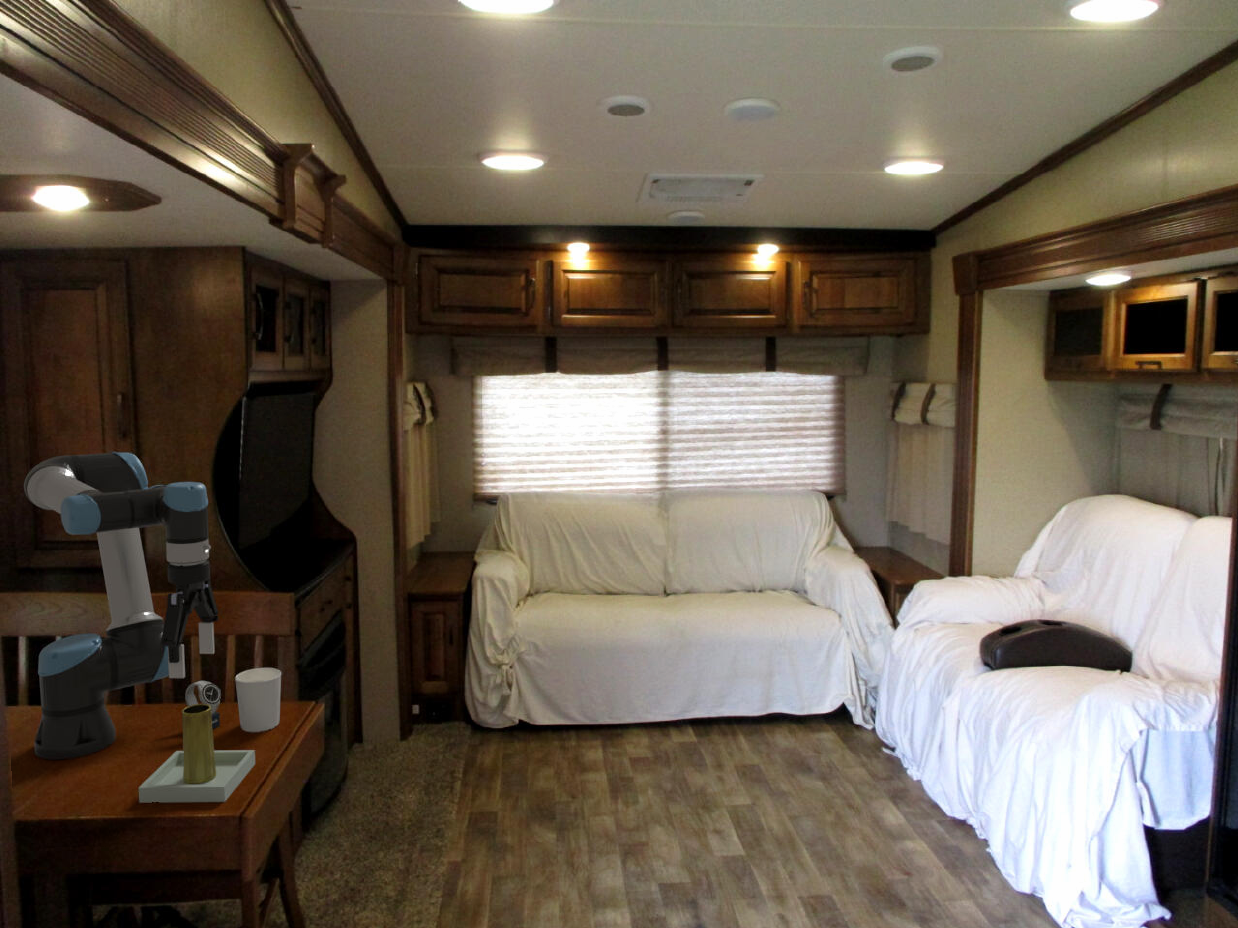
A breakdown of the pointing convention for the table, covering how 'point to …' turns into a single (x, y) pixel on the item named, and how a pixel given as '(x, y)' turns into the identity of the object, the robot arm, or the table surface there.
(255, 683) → the candle holder
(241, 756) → the tray
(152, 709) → the table surface
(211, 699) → the watch
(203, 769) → the vase
